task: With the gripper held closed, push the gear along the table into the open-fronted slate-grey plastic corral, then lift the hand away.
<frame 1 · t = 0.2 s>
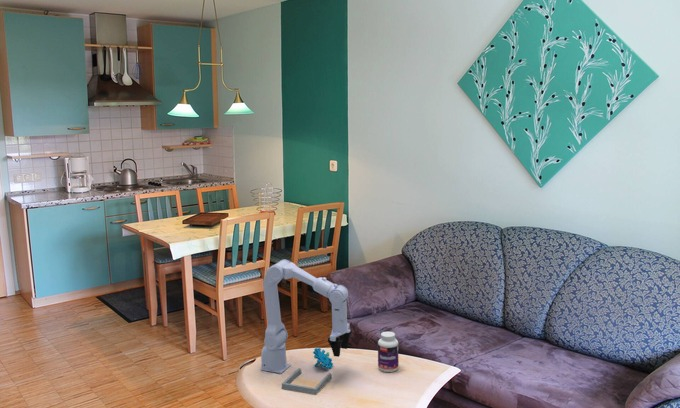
hand: (340, 352, 227), 10 cm above the table, tool pointing down, fingers open, 7 cm apart
pill bottle: (388, 369, 235), on the table
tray: (308, 382, 225), on the table
gear: (323, 367, 238), on the table
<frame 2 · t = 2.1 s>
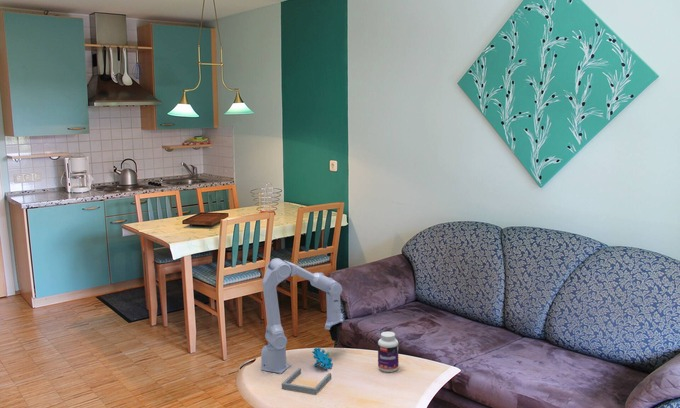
hand: (334, 340, 248), 7 cm above the table, tool pointing down, fingers closed
nothing on the table moved.
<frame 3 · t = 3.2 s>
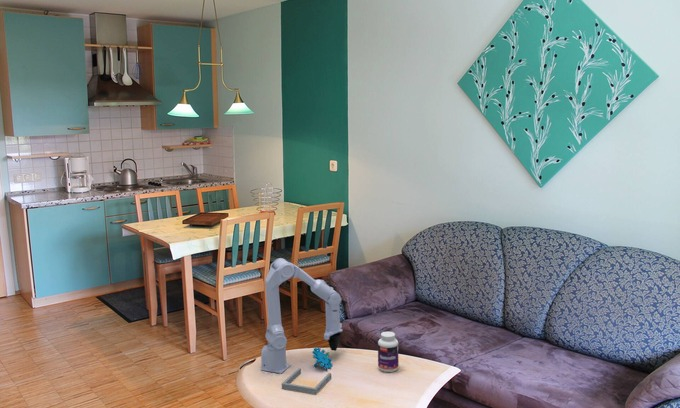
hand: (333, 349, 247), 3 cm above the table, tool pointing down, fingers closed
nothing on the table moved.
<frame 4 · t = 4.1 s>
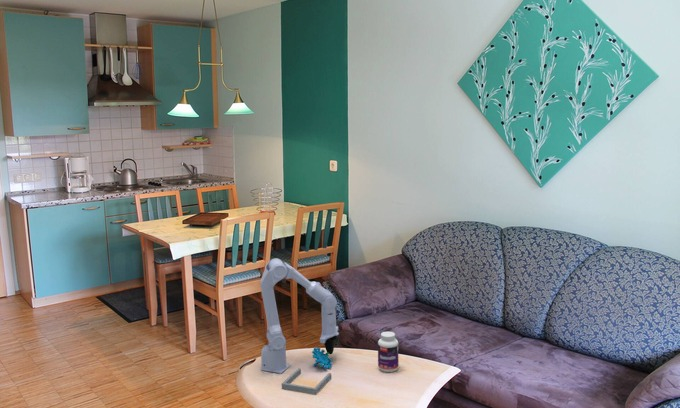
hand: (330, 353, 244), 3 cm above the table, tool pointing down, fingers closed
gear: (322, 367, 239), on the table, touching gripper
everything else where it was.
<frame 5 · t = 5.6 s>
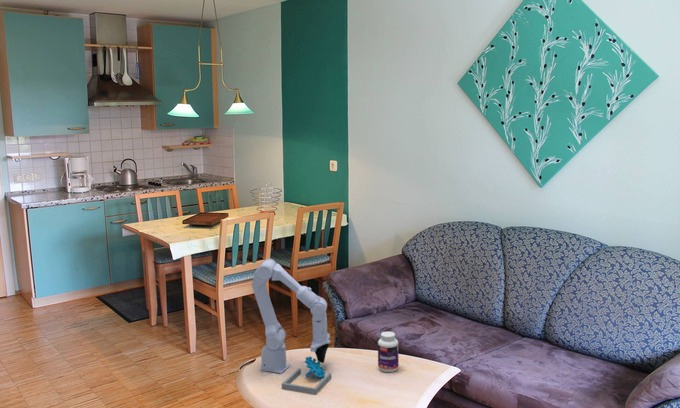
hand: (321, 362, 236), 3 cm above the table, tool pointing down, fingers closed
gear: (315, 376, 230), on the table, touching gripper
everything else where it was.
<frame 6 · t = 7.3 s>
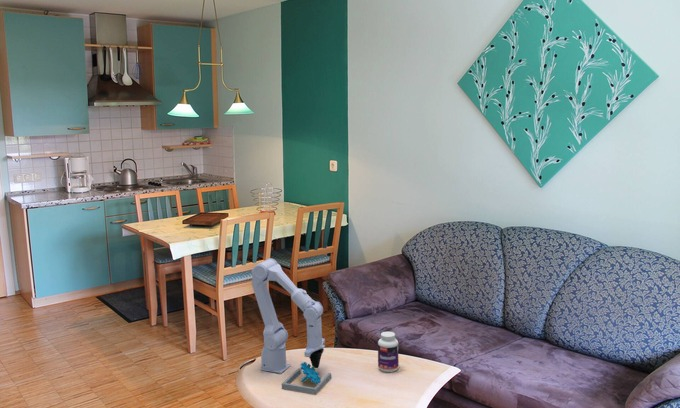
hand: (315, 367, 231), 3 cm above the table, tool pointing down, fingers closed
gear: (311, 382, 226), on the table, touching gripper
everything else where it was.
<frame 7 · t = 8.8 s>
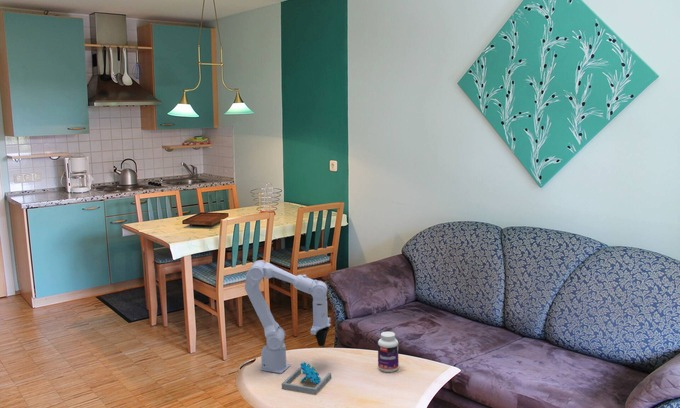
hand: (321, 345, 236), 9 cm above the table, tool pointing down, fingers closed
gear: (311, 382, 226), on the table
everything else where it was.
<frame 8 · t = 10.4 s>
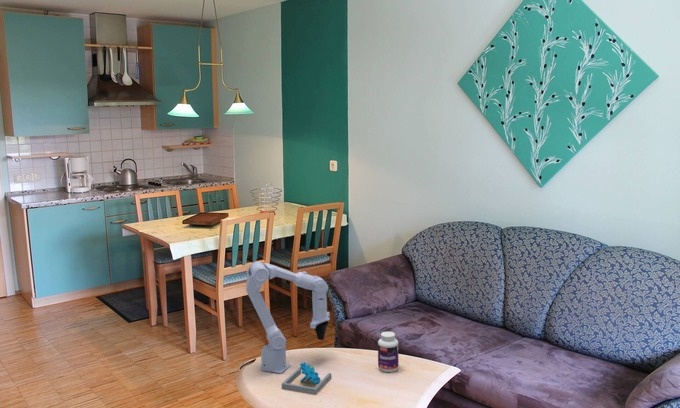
hand: (320, 339, 242), 9 cm above the table, tool pointing down, fingers closed
nothing on the table moved.
at the end: gear inside the target area on the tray (2.5 cm from its centre), point 0.0 cm above the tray's base; gear tilted 0°; the gripper is holding nothing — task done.
